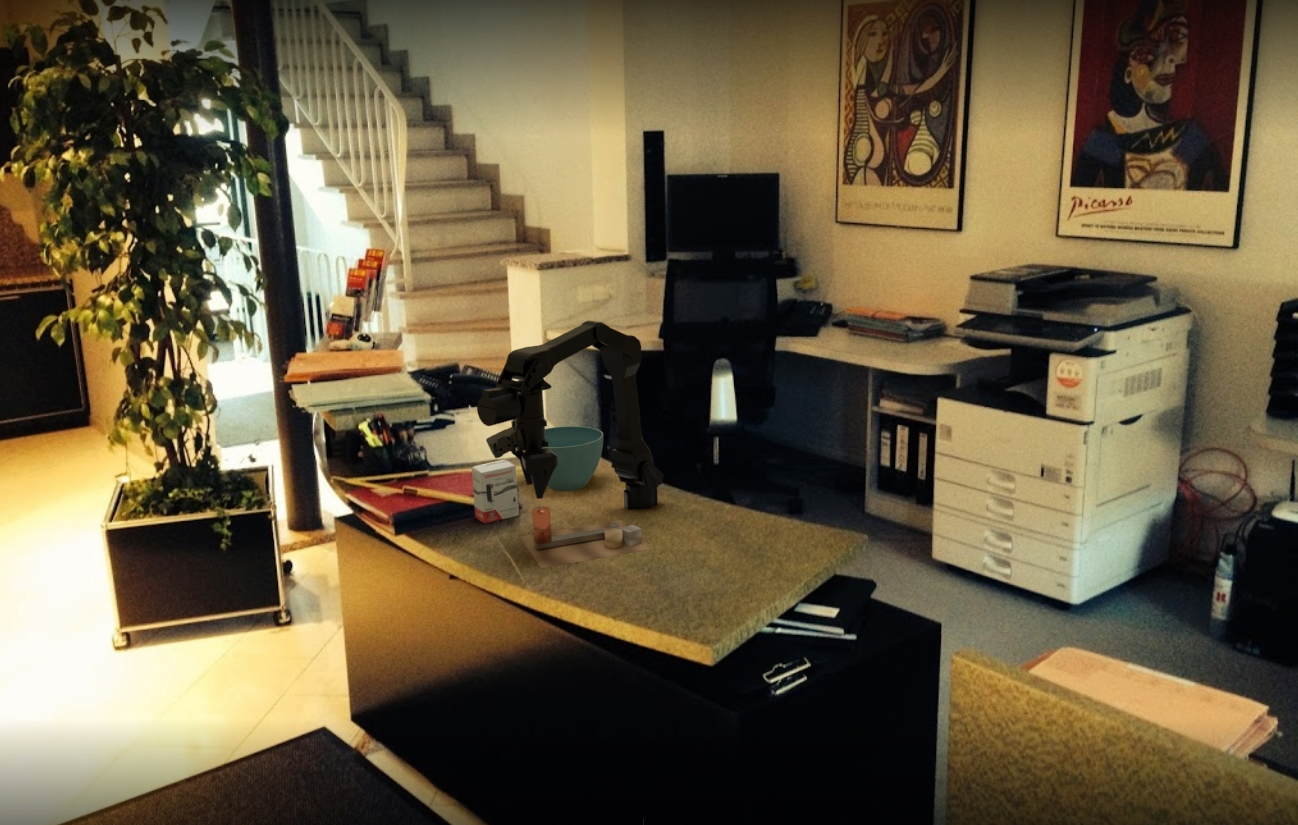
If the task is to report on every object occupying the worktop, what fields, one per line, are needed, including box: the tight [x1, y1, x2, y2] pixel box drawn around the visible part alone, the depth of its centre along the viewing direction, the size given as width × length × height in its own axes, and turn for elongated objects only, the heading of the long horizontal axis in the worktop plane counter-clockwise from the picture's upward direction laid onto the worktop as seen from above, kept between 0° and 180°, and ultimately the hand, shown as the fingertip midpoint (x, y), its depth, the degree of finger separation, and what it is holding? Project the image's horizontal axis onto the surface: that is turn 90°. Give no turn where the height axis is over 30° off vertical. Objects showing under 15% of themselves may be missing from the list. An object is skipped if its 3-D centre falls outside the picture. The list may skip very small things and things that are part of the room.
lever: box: [531, 506, 607, 549], centre depth 221 cm, size 15×4×8 cm, turn 109°
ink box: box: [471, 459, 520, 524], centre depth 241 cm, size 8×5×12 cm, turn 123°
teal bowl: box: [542, 425, 604, 493], centre depth 259 cm, size 18×18×12 cm
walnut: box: [605, 528, 623, 549], centre depth 219 cm, size 4×4×3 cm
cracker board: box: [519, 519, 651, 569], centre depth 222 cm, size 22×18×4 cm
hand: (534, 491), depth 219 cm, fingers open, 9 cm apart
